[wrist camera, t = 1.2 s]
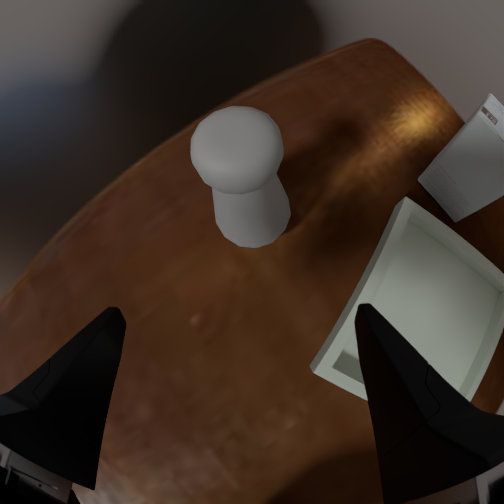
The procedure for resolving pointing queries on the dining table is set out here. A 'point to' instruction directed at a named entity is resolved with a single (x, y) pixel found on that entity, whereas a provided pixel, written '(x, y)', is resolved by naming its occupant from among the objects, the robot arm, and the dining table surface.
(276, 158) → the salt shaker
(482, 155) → the skincare box
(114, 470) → the dining table surface
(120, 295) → the dining table surface
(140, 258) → the dining table surface
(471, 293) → the tray
